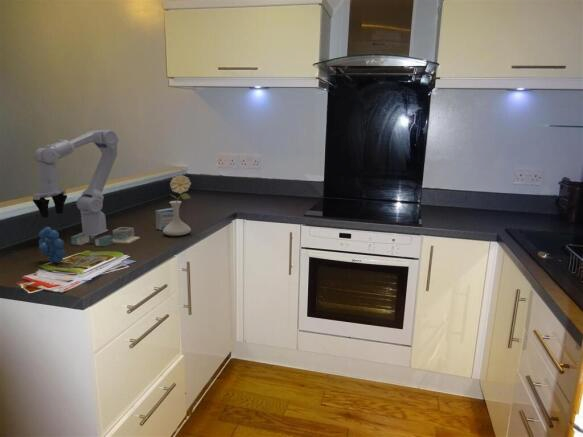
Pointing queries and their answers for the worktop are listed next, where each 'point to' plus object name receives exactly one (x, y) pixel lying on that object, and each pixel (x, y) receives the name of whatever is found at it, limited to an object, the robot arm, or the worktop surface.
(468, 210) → the worktop surface
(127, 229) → the grey hollow block
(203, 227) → the worktop surface
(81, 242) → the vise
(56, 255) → the grapes
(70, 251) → the worktop surface
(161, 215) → the medicine box
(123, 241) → the mat
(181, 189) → the flower in vase
